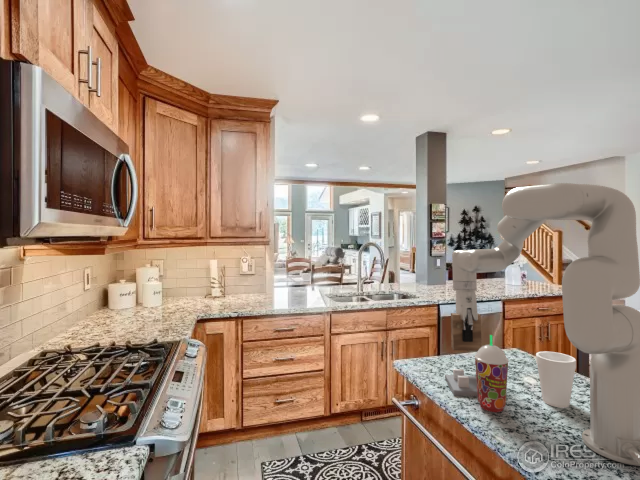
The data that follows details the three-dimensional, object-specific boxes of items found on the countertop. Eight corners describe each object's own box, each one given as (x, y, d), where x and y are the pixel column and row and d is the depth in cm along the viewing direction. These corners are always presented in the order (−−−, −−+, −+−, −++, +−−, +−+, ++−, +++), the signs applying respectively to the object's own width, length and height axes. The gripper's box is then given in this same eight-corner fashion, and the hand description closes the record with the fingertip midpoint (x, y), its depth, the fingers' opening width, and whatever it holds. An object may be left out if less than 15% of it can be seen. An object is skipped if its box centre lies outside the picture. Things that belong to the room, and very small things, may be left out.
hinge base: (503, 397, 102) (503, 382, 102) (453, 395, 104) (453, 380, 104) (489, 381, 114) (489, 367, 114) (445, 379, 116) (445, 365, 116)
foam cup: (568, 397, 103) (567, 352, 103) (582, 412, 94) (582, 363, 94) (531, 393, 105) (531, 350, 105) (542, 407, 96) (542, 360, 96)
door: (482, 352, 116) (481, 315, 116) (454, 351, 117) (453, 315, 118) (479, 348, 120) (478, 313, 121) (451, 347, 121) (450, 313, 122)
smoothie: (489, 417, 91) (489, 340, 91) (468, 402, 99) (468, 332, 99) (516, 412, 94) (515, 338, 94) (492, 399, 102) (492, 330, 102)
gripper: (483, 288, 111) (485, 347, 111) (469, 283, 128) (470, 334, 127) (459, 288, 112) (460, 346, 112) (448, 283, 129) (449, 334, 128)
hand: (466, 339), depth 119 cm, fingers closed on door, 3 cm apart
